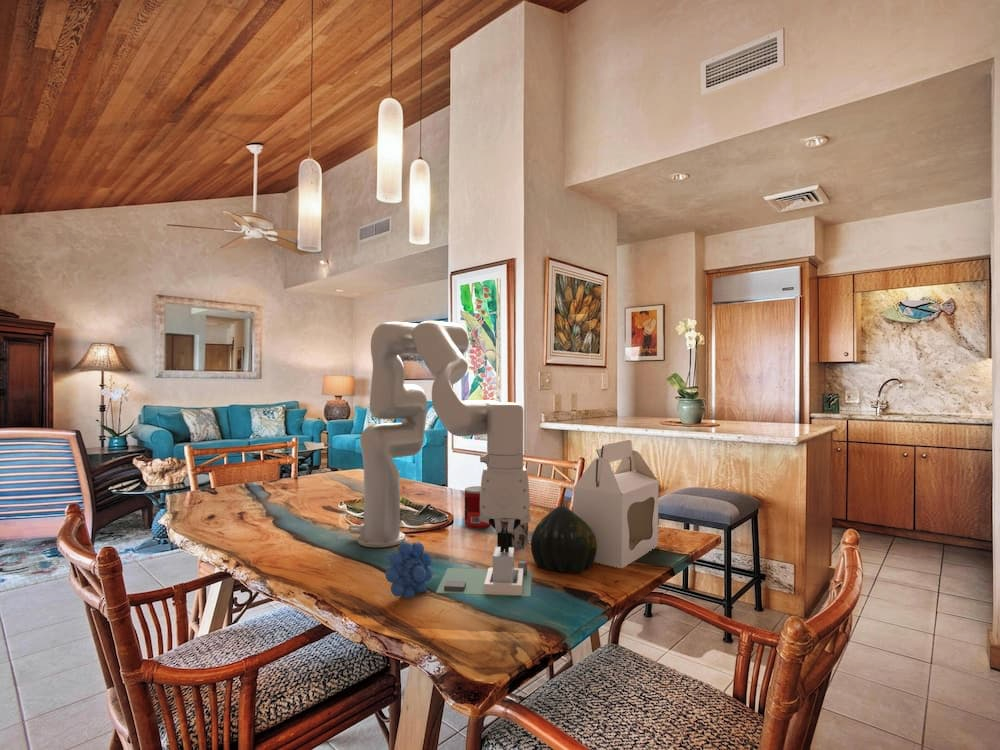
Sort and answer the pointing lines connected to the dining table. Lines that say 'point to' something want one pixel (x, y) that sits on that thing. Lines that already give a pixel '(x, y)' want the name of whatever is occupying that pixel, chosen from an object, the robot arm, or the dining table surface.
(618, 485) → the gable box
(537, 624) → the dining table surface
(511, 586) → the frame
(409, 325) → the robot arm
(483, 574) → the board
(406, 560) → the grapes
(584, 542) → the squash
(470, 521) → the canned food
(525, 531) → the coffee box
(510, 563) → the plug
